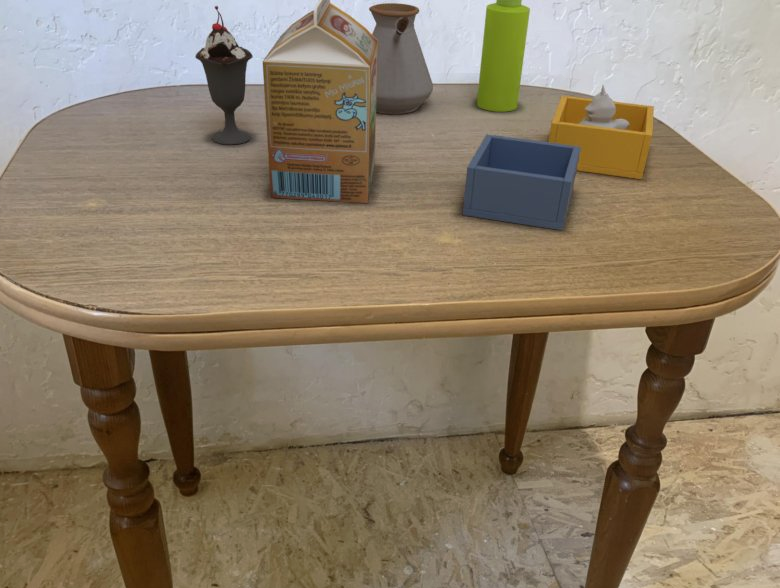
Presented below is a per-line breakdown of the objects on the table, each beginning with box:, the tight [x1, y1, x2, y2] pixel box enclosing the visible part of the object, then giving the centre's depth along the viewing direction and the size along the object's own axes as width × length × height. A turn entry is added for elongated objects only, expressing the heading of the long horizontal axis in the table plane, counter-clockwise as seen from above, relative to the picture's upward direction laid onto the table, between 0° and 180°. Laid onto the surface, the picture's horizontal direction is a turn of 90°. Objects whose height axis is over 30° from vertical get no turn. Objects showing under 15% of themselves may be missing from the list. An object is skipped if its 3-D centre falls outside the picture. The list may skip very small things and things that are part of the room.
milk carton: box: [262, 0, 378, 204], centre depth 82 cm, size 11×11×19 cm
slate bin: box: [462, 134, 581, 231], centre depth 83 cm, size 11×11×5 cm
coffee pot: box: [368, 2, 434, 115], centre depth 102 cm, size 21×12×15 cm, turn 4°
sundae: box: [195, 5, 253, 146], centre depth 93 cm, size 7×7×15 cm
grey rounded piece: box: [579, 84, 629, 130], centre depth 94 cm, size 5×7×8 cm
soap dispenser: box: [476, 0, 531, 113], centre depth 107 cm, size 6×7×20 cm
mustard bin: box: [547, 94, 655, 180], centre depth 96 cm, size 12×12×5 cm
